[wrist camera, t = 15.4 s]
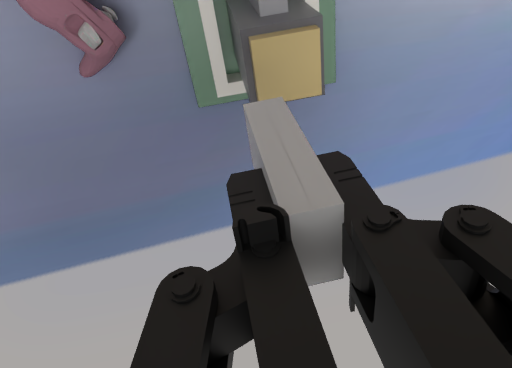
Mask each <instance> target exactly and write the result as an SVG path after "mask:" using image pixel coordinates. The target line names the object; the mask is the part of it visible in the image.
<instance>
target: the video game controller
mask: <svg viewBox="0 0 512 368" xmlns="http://www.w3.org/2000/svg"><path fill="white" fill-rule="evenodd" d="M16 1H17V2H18V3H19V5H20V6H21V7H22V8H23V9H24V10H25V11H26V12H27V13H28V14H29V15H30V16H31V17H32V18H33V19H35V20H36V21H38V22H39V23H41V24H43V25H45V26H47V27H49V28H51V29H53V30H56V31H57V32H59V33H60V34H61V35H62V36H64V37H65V38H66V39H67V40H69V41H70V42H71V43H72V44H74V45H75V46H76V47H78V48H79V49H81V50H82V51H84V52H85V55H84V57H83V59H82V61H81V63H80V65H79V71H80V74H81V76H83V77H91V76H93V75H95V74H96V73H97V72H99V71H100V70H101V69H102V68H103V67H105V66H106V65H107V64H108V63H109V62H110V61H111V60H112V58H113V57H114V55H115V54H116V52H117V50H118V48H119V47H120V46H121V44H122V43H123V42H124V40H125V39H126V37H125V35H124V33H123V32H122V31H121V30H120V29H119V28H118V27H117V25H116V24H115V23H114V21H113V19H114V20H116V21H117V20H118V18H117V16H116V14H115V12H114V11H113V10H112V9H110V8H109V7H106V6H102V9H103V10H104V11H105V12H104V11H102V10H99V9H97V8H96V7H94V6H93V5H92V4H90V3H89V2H87V1H85V0H16ZM112 18H113V19H112Z"/></svg>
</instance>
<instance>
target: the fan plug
mask: <svg viewBox="0 0 512 368" xmlns="http://www.w3.org/2000/svg"><path fill="white" fill-rule="evenodd" d="M226 5H227V11H228V17H229V23H230V29H231V35H232V41H233V47H234V53H235V58H236V61H237V64H238V67H239V71H240V74H241V77H242V80H243V83H244V86H245V89H246V92H247V96H248V99H249V102H250V103H252V102H257V101H262V100H267V99H272V98H277V97H282V98H283V99H284V101H285V102H287V101H293V100H298V99H303V98H309V97H314V96H319V95H325V81H324V42H323V15H322V14H321V13H319V12H318V11H317V10H315V9H314V8H313V7H311V6H310V5H309V4H307V3H306V2H305V1H303V0H226Z"/></svg>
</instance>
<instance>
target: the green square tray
mask: <svg viewBox="0 0 512 368" xmlns="http://www.w3.org/2000/svg"><path fill="white" fill-rule="evenodd" d="M303 1H305V2H306V3H307V4H309V5H310V6H311V7H313V8H314V9H315V10H317V11H318V12H319V13H321V14H322V15H323V42H324V81H325V84H330V83H335V82H336V61H335V0H303ZM173 4H174V8H175V12H176V16H177V20H178V24H179V28H180V32H181V37H182V41H183V45H184V49H185V53H186V57H187V61H188V65H189V70H190V74H191V78H192V82H193V86H194V90H195V94H196V98H197V103H198V107H199V108H200V107H205V106H211V105H216V104H221V103H227V102H232V101H238V100H243V99H248V96H247V92H246V89H245V86H244V83H243V80H242V77H241V74H240V71H239V67H238V64H237V61H236V58H235V53H234V47H233V41H232V35H231V29H230V23H229V17H228V11H227V5H226V0H173Z"/></svg>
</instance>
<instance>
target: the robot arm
mask: <svg viewBox="0 0 512 368" xmlns="http://www.w3.org/2000/svg"><path fill="white" fill-rule="evenodd" d="M243 108H244V114H245V120H246V126H247V132H248V138H249V144H250V150H251V156H252V162H253V166H254V170H249V171H245V172H240V173H235V174H231V176H230V178H229V180H228V183H227V191H228V196H229V202H230V207H231V212H232V218H233V226H232V229H233V232H234V237H235V241H236V247H235V250H234V252H233V253H232V255H231V256H230V257H229V258H228V259H227V260H226V261H225V262H224V263H222V264H221V265H219V266H217V267H215V268H213V269H211V270H210V271H206V270H204V269H203V268H201V267H193V266H189V267H184V268H179V269H177V270H175V271H174V272H171V273H170V274H168V275H167V276H166V277H165V278H164V279H163V280H162V281H161V283H160V284H159V286H158V288H157V290H156V292H155V295H154V299H153V302H152V305H151V307H150V310H149V313H148V317H147V319H146V322H145V325H144V328H143V331H142V334H141V337H140V340H139V343H138V346H137V349H136V352H135V355H134V358H133V361H132V364H131V367H130V368H232V361H233V354H234V350H236V349H238V348H239V347H241V346H243V345H244V344H246V343H247V342H249V341H251V340H252V339H254V341H255V347H256V352H257V358H258V363H259V368H337V366H336V364H335V361H334V358H333V355H332V352H331V350H330V347H329V344H328V341H327V338H326V335H325V333H324V330H323V327H322V324H321V322H320V319H319V316H318V313H317V310H316V307H315V305H314V302H313V299H312V296H311V294H310V291H309V288H308V286H311V285H316V284H320V283H324V282H329V281H333V280H338V279H342V278H343V273H344V267H345V269H346V271H347V273H348V276H349V278H350V291H349V292H350V293H349V306H350V311H351V312H352V311H355V304H356V306H357V308H358V311H359V313H360V315H361V317H362V320H363V322H364V324H365V326H366V328H367V331H368V333H369V335H370V337H371V339H372V341H373V344H374V346H375V348H376V350H377V352H378V355H379V357H380V359H381V361H382V363H383V366H384V368H512V224H511V223H510V222H508V221H507V220H505V219H504V218H502V217H501V216H499V215H497V214H496V213H494V212H492V211H490V210H488V209H486V208H482V207H478V206H474V205H459V206H454V207H451V208H450V209H448V210H447V211H445V213H444V215H443V218H442V221H431V220H411V219H407V218H406V217H405V216H404V215H403V214H402V213H401V212H400V211H399V210H397V209H395V208H393V207H390V206H387V205H383V204H382V202H381V201H380V199H379V198H378V196H377V195H376V194H375V192H374V191H373V189H372V188H371V187H370V185H369V184H368V183H367V181H366V180H365V178H364V177H362V174H361V173H360V171H359V170H358V169H357V167H356V166H355V164H354V163H353V162H352V160H351V159H350V158H349V157H347V156H346V155H344V154H342V153H340V152H339V151H336V152H331V153H326V154H321V155H316V154H315V152H314V151H313V149H312V147H311V146H310V144H309V142H308V140H307V139H306V137H305V135H304V134H303V132H302V130H301V128H300V127H299V125H298V123H297V122H296V120H295V118H294V116H293V115H292V113H291V111H290V110H289V108H288V106H287V104H286V103H285V101H284V99H283V98H282V97H277V98H272V99H267V100H262V101H257V102H252V103H247V104H243ZM489 283H491V284H492V285H493V286H494V287H493V286H492V285H490V284H489ZM495 287H496V288H495Z"/></svg>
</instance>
